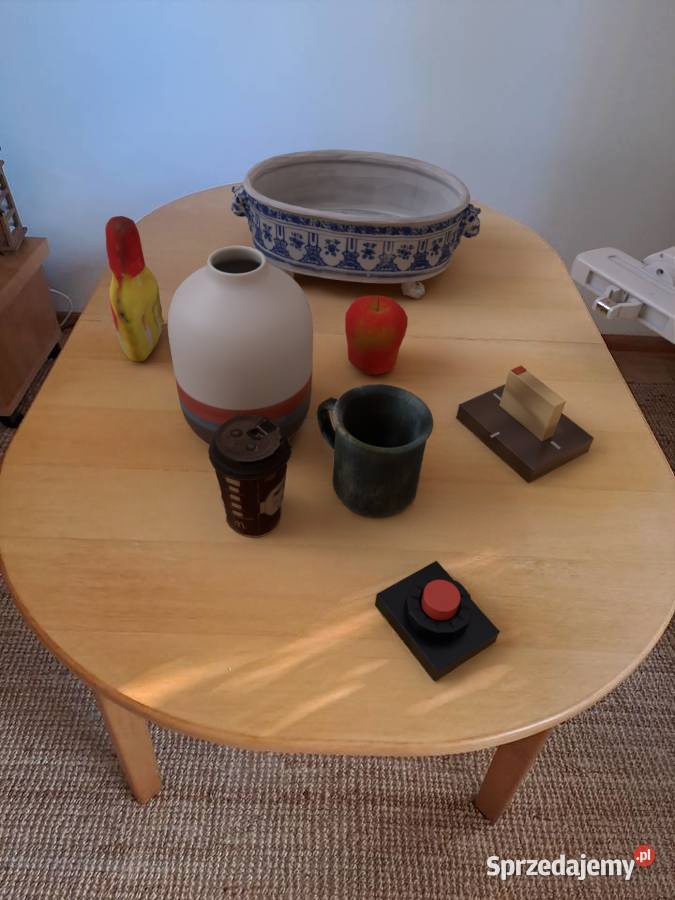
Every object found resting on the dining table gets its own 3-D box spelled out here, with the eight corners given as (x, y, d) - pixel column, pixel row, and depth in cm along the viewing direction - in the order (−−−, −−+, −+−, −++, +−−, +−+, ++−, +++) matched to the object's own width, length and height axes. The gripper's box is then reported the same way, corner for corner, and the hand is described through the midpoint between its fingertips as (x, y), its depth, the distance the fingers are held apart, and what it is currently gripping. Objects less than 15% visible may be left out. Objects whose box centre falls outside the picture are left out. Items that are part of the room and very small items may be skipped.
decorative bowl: (217, 292, 110) (209, 205, 100) (246, 217, 129) (241, 137, 118) (475, 314, 109) (494, 228, 99) (466, 235, 128) (482, 156, 117)
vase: (291, 477, 83) (290, 315, 66) (162, 450, 85) (129, 287, 68) (324, 391, 94) (331, 235, 77) (210, 369, 96) (192, 213, 80)
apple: (332, 373, 97) (336, 303, 89) (357, 342, 103) (362, 274, 94) (387, 391, 95) (396, 321, 86) (409, 359, 100) (419, 291, 92)
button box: (495, 642, 68) (504, 622, 65) (434, 682, 65) (440, 662, 62) (433, 571, 74) (439, 550, 71) (374, 605, 70) (377, 583, 68)
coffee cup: (292, 488, 81) (291, 408, 72) (293, 544, 75) (292, 465, 66) (219, 489, 81) (209, 409, 71) (215, 546, 75) (203, 466, 66)
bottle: (156, 370, 96) (131, 241, 81) (111, 368, 96) (79, 239, 81) (171, 322, 104) (152, 197, 90) (130, 320, 104) (104, 195, 90)
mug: (384, 538, 77) (396, 467, 68) (289, 476, 83) (289, 403, 74) (436, 485, 83) (453, 413, 74) (344, 430, 89) (350, 358, 80)
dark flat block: (591, 449, 88) (598, 435, 87) (524, 485, 83) (530, 471, 82) (517, 390, 96) (521, 375, 94) (452, 419, 91) (455, 404, 89)
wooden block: (553, 436, 86) (567, 399, 82) (542, 441, 85) (555, 405, 81) (509, 400, 91) (521, 364, 86) (498, 405, 90) (509, 368, 85)
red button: (464, 609, 66) (468, 600, 65) (436, 627, 65) (439, 617, 64) (441, 583, 68) (444, 573, 67) (414, 599, 67) (416, 589, 66)
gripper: (617, 229, 97) (550, 252, 92) (742, 298, 86) (675, 329, 80) (603, 267, 102) (538, 292, 96) (720, 338, 90) (654, 370, 85)
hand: (601, 309), depth 88 cm, fingers closed
